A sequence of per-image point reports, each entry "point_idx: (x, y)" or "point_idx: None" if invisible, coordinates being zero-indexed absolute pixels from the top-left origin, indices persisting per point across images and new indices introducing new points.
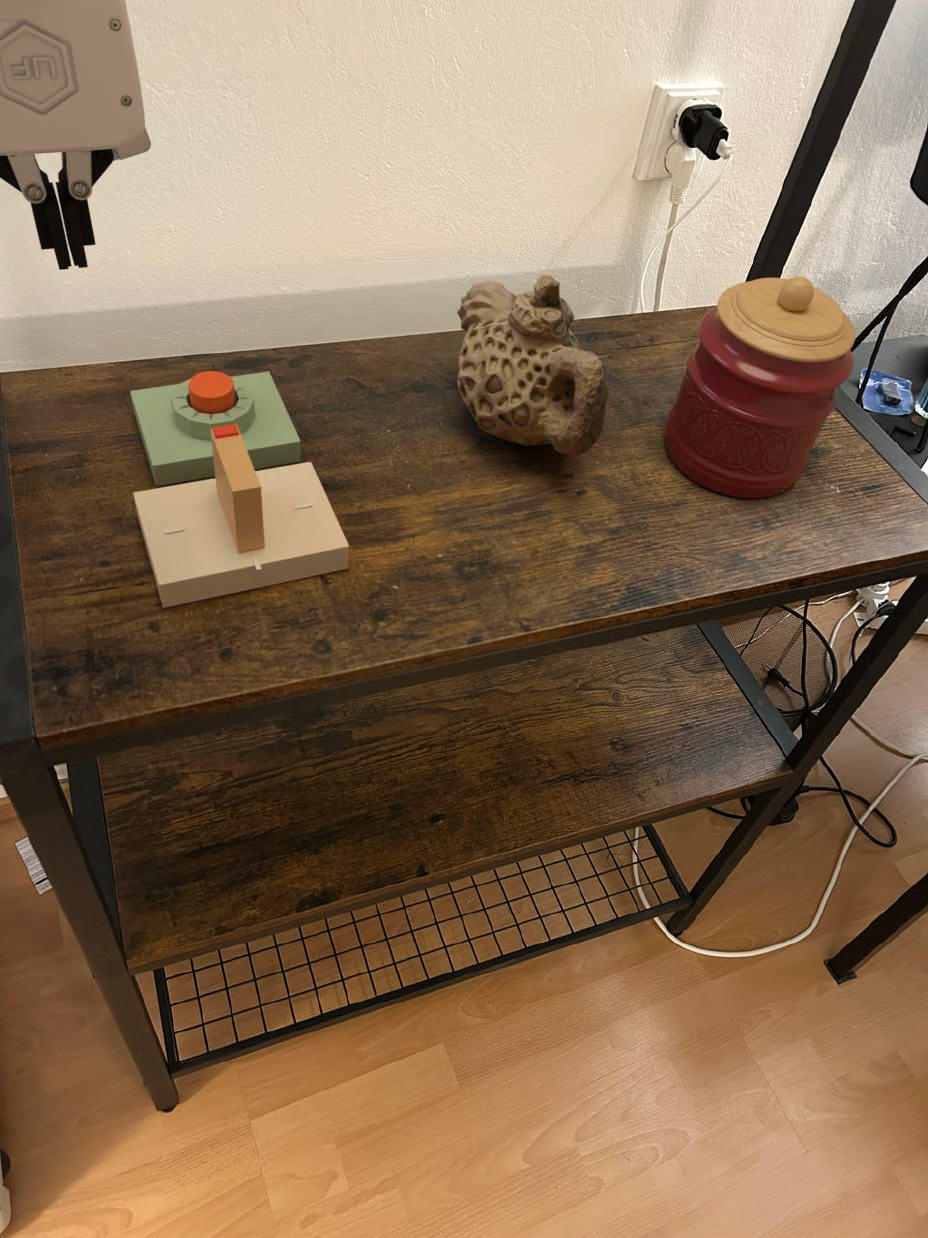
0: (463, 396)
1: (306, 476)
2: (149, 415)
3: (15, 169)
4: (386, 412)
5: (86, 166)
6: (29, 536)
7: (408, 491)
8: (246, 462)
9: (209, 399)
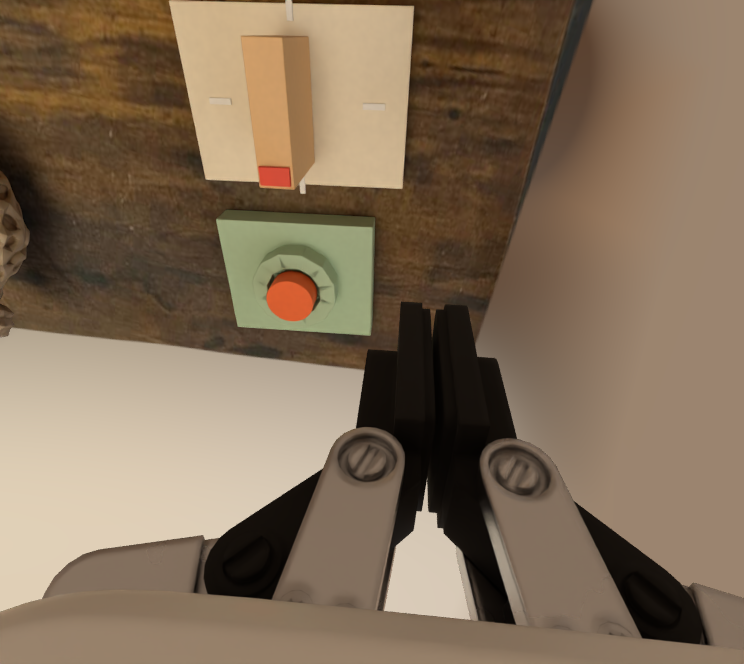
0: (16, 220)
1: (212, 155)
2: (360, 298)
3: (591, 558)
4: (133, 255)
5: (319, 527)
6: (511, 183)
7: (111, 124)
8: (255, 101)
9: (295, 281)
